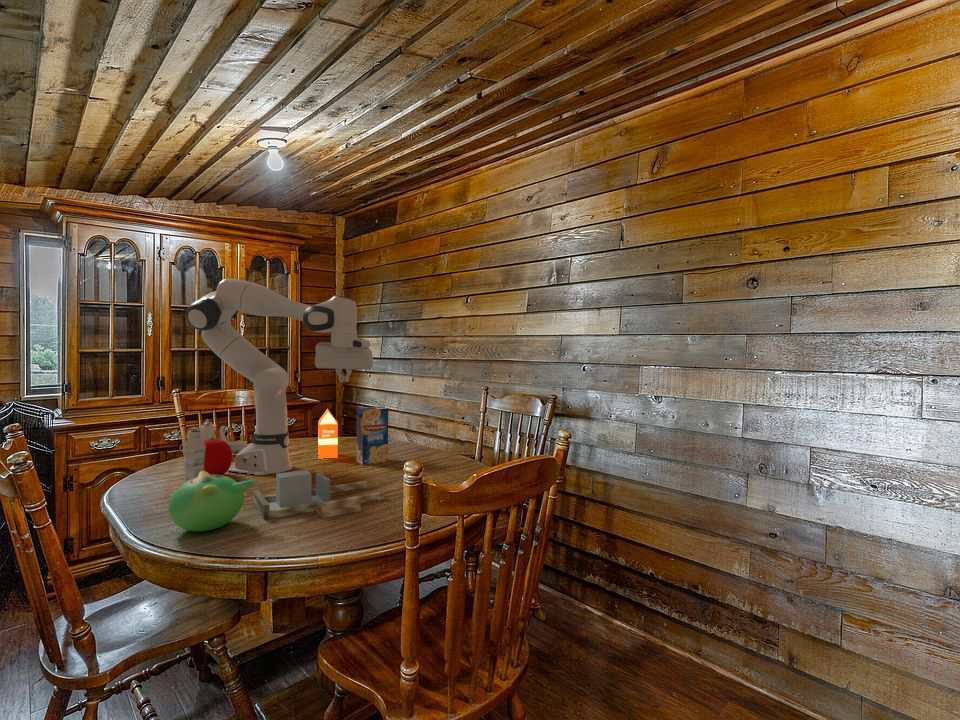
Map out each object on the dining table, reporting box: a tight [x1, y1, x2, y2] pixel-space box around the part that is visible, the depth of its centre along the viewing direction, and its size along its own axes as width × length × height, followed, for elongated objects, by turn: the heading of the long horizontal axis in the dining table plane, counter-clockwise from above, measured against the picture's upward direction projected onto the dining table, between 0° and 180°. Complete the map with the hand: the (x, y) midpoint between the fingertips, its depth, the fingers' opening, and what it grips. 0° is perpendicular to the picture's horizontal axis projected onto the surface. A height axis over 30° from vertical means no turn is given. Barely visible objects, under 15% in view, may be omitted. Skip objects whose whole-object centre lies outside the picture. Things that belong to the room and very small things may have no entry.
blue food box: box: [356, 405, 389, 466], centre depth 213 cm, size 7×11×22 cm, turn 124°
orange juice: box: [317, 408, 339, 460], centre depth 221 cm, size 8×9×20 cm
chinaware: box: [179, 418, 248, 454], centre depth 219 cm, size 28×17×17 cm, turn 98°
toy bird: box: [168, 471, 257, 532], centre depth 138 cm, size 18×17×15 cm
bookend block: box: [269, 469, 331, 510], centre depth 157 cm, size 18×10×10 cm, turn 123°
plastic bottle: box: [182, 429, 206, 484], centre depth 167 cm, size 6×7×20 cm
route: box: [252, 480, 385, 521], centre depth 158 cm, size 36×23×4 cm, turn 124°
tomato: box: [203, 437, 233, 476], centre depth 188 cm, size 13×11×14 cm
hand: (343, 381), depth 184 cm, fingers closed
